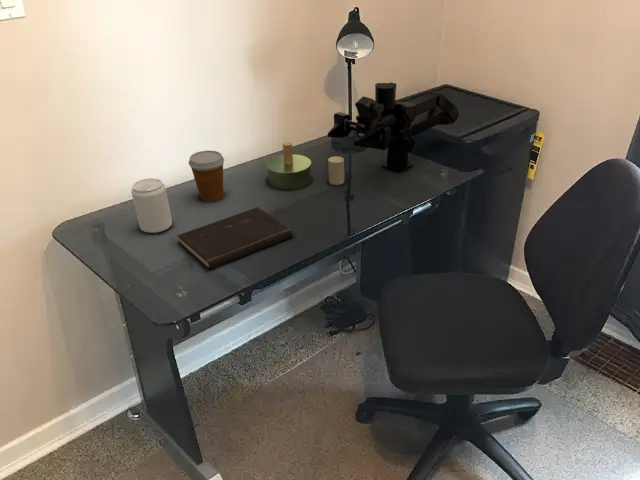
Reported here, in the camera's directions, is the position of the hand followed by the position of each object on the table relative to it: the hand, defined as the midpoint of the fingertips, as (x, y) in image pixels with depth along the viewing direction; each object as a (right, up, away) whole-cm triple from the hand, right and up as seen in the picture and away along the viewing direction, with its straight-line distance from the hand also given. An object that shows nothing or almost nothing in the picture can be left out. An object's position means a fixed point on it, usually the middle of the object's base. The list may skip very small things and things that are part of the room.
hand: (340, 139), depth 163 cm
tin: (-16, -9, +17) cm, 25 cm away
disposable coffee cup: (-36, -14, +9) cm, 40 cm away
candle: (-2, -9, +16) cm, 19 cm away
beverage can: (-47, -24, -6) cm, 53 cm away
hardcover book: (-26, -28, -11) cm, 39 cm away
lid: (-16, -4, +14) cm, 22 cm away
